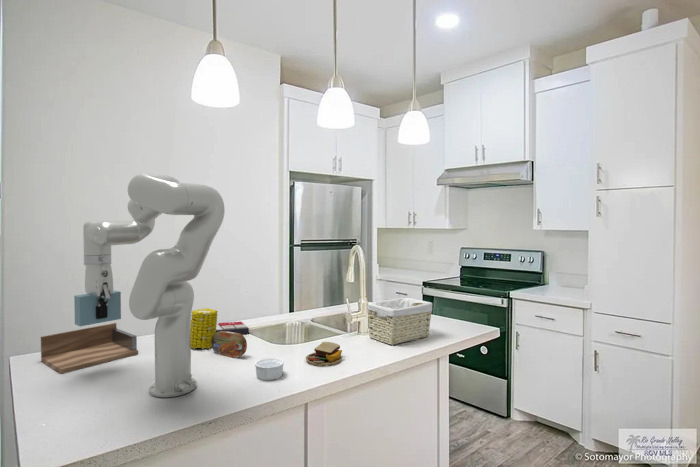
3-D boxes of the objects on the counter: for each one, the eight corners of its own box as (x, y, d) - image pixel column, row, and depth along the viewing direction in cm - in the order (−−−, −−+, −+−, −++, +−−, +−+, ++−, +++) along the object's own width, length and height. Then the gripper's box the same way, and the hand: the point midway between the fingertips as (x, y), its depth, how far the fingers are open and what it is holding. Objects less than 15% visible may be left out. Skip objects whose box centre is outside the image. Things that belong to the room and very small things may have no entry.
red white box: (249, 326, 177) (212, 329, 169) (248, 336, 177) (212, 339, 169) (242, 320, 186) (207, 322, 179) (241, 330, 186) (206, 333, 179)
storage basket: (405, 328, 187) (406, 296, 187) (434, 337, 175) (434, 302, 174) (365, 338, 172) (365, 302, 172) (392, 348, 160) (393, 309, 159)
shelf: (138, 354, 150) (137, 330, 150) (60, 374, 131) (60, 347, 131) (115, 344, 161) (115, 322, 161) (41, 361, 142) (40, 336, 142)
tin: (210, 353, 152) (210, 330, 152) (217, 350, 155) (217, 328, 155) (242, 360, 145) (242, 336, 145) (248, 357, 148) (248, 333, 148)
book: (120, 318, 137) (120, 291, 137) (80, 326, 128) (79, 297, 127) (115, 316, 140) (115, 290, 139) (74, 324, 130) (74, 295, 130)
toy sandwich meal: (298, 362, 144) (298, 348, 144) (323, 352, 155) (323, 339, 155) (325, 370, 137) (326, 355, 137) (350, 359, 148) (350, 345, 148)
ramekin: (253, 372, 134) (253, 359, 134) (280, 369, 137) (280, 356, 137) (257, 383, 126) (257, 369, 125) (286, 379, 129) (286, 365, 129)
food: (184, 351, 159) (209, 346, 166) (200, 351, 151) (225, 345, 159) (181, 310, 161) (205, 308, 168) (197, 308, 153) (221, 305, 161)
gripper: (122, 261, 131) (123, 319, 132) (98, 257, 141) (99, 311, 142) (96, 263, 125) (97, 324, 126) (73, 258, 135) (74, 315, 136)
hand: (98, 316), depth 134 cm, fingers closed on book, 4 cm apart
